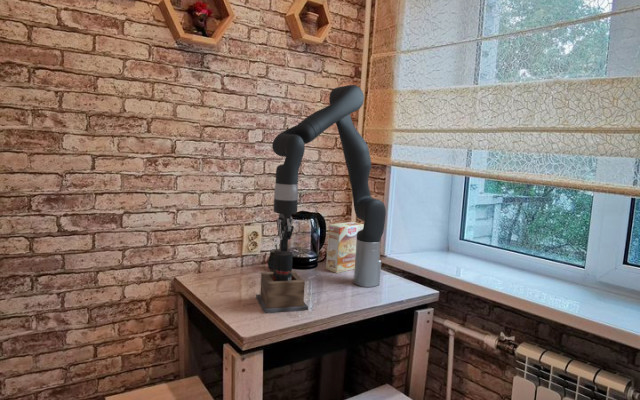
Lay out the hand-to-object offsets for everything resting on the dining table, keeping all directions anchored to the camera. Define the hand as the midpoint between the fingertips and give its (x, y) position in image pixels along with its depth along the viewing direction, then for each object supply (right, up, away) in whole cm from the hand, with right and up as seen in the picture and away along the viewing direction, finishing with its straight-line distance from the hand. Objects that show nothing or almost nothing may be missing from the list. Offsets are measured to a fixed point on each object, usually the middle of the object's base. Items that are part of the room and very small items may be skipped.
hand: (283, 250), depth 140 cm
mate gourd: (-6, -13, +39) cm, 42 cm away
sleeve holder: (-1, -18, +2) cm, 18 cm away
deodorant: (-1, -16, +2) cm, 16 cm away
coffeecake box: (+22, -13, +46) cm, 53 cm away
